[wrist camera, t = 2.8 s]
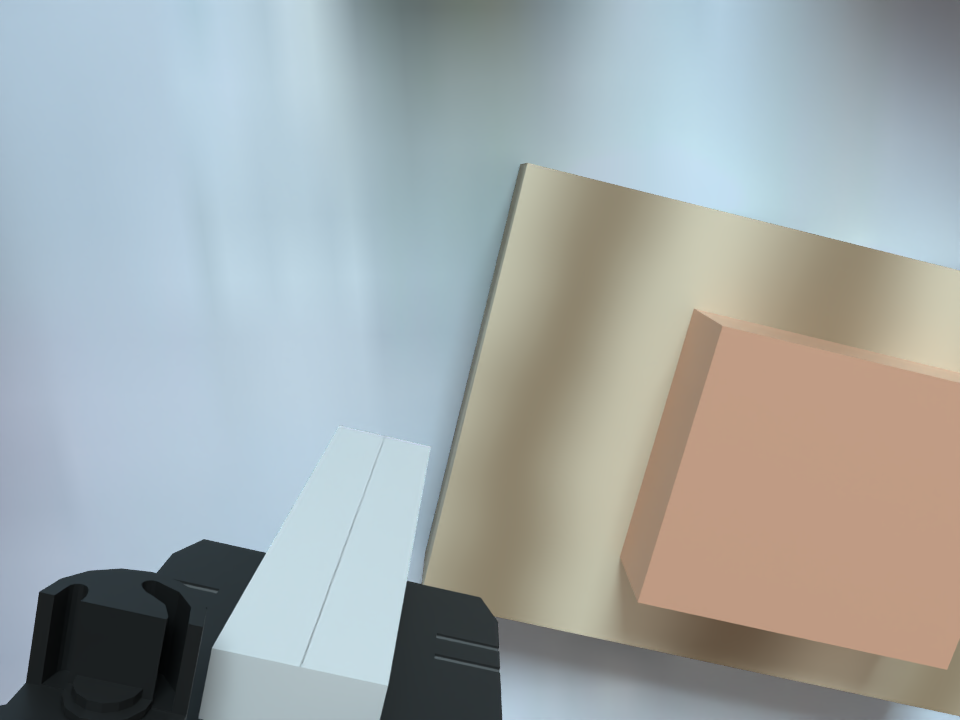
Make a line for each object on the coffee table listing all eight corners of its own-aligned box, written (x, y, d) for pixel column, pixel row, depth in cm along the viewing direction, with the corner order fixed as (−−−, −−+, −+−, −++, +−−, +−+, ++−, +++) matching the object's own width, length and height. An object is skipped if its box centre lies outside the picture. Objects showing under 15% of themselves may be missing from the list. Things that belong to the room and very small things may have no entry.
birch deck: (425, 552, 26) (419, 600, 23) (520, 164, 24) (527, 163, 21) (912, 658, 27) (966, 717, 24) (1053, 297, 25) (1132, 313, 22)
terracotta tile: (619, 556, 23) (637, 602, 20) (693, 308, 21) (722, 325, 19) (897, 618, 23) (947, 669, 21) (988, 379, 22) (1052, 405, 19)
